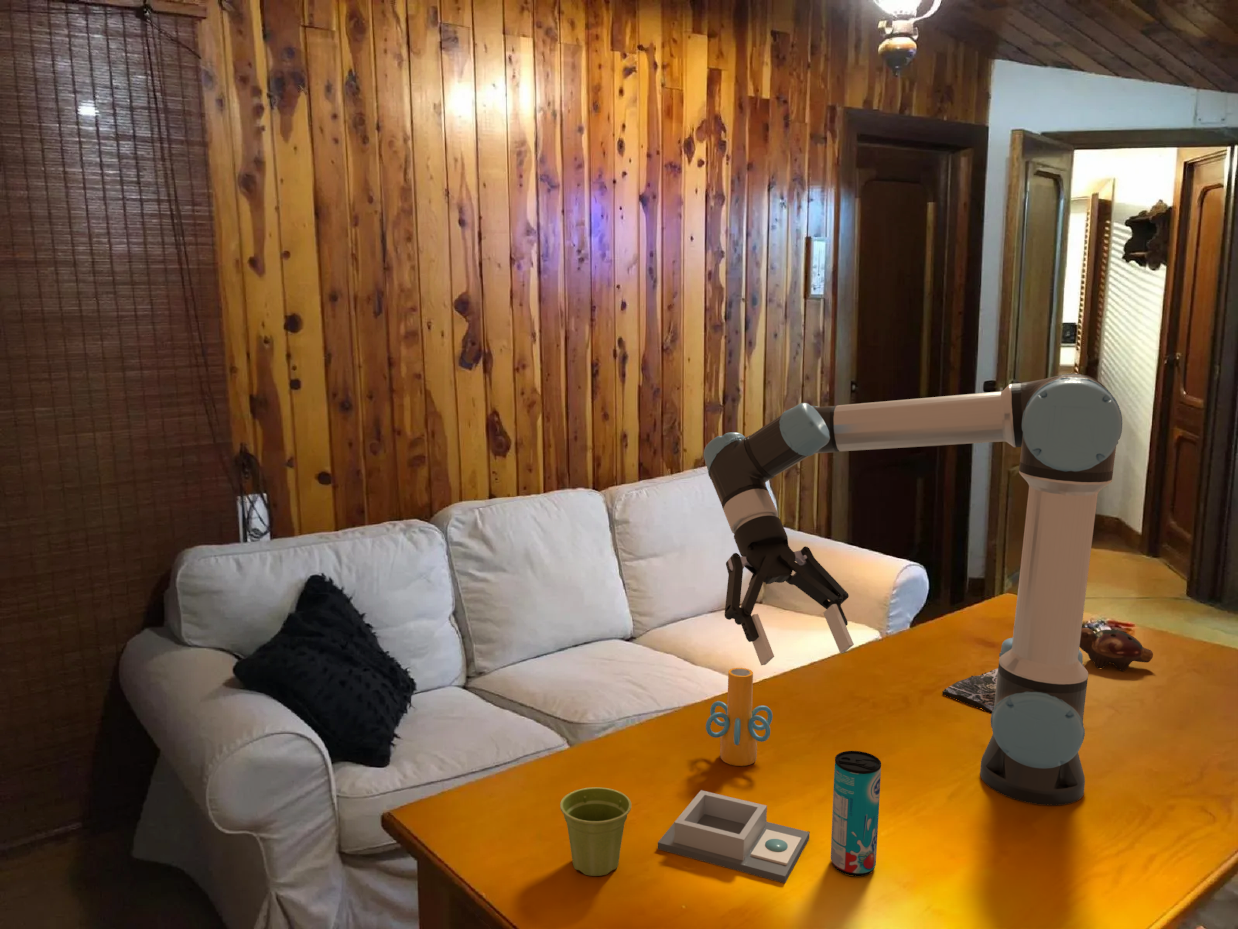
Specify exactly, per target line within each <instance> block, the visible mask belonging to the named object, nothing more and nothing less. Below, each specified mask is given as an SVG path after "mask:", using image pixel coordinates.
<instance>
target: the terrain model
mask: <svg viewBox="0 0 1238 929" xmlns="http://www.w3.org/2000/svg"><path fill="white" fill-rule="evenodd" d="M997 674H998V668H995V669H993V670H990V671H989V672H984V673H983V672H982V673H981V674H980V675H971V676H969V677H967V678H963V679H961V680H959V681H957V682H954V683H953V684H951V685H950V686H948V687H947V688H944V690H942V693H941V694H942V695H941V696H944V695H946V696H945V697H947V696H948V698H950V697H951V699H952V698H955V699H957V700H956V701H958V700H959V701H958V702H960V701H961V702H962V703H963V702H965V703H964V704H966V703H968V704H969V705H968V704H967V705H968V706H971V705H973V706H972V707H974V706H975V707H974V708H976V707H978V708H977V709H979V708H982V709H983V711H984V710H985V712H987V713H989V712H991V713H990V714H992V712H993V710H994V703H995V693H996V684H997ZM955 699H954V700H955ZM982 709H981V710H982Z"/></svg>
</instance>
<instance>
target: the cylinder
mask: <svg viewBox="0 0 1238 929" xmlns="http://www.w3.org/2000/svg"><path fill="white" fill-rule="evenodd" d="M753 684H754V671H753V670H751V669H749V668H745V667H733V668H730V669H728V674H727V704H726V703H725V702H723V701H720V700H717V701H714V702H713V703H712V704H711V706H710V708H709V709H710V711H709V712H710V716H709V717H708V718H707V720H706V723H705V731H706V733H707V734H708V735H709V737H712V738H717V739H718V738H720V742H719V743H720V744H719V745H720V746H719V747H720V751H719V757H720V759H721V761H722V762H724V763H725V764H728V765H730V766H736V767H745V766H746V767H747V766H750V765H753V764H754V763H755V762H756V760H757V756H758V755H757V754H758V742H761V743H764V742H766V741H767V740H769V738H770V736H771V726H770V725H771V724H772V721H773V711H772V710H771V708H769V707H768V706H767V705H758V706H756V707H755V708H753V688H754V687H753V686H754V685H753ZM717 707H721V708H722V709H723V710H724V712H725V713H724V712H720V711H719V712H716V708H717ZM761 711H763V712H764V711H765V712H766V713H767V719H766V718H765V717H763V716H762V715H757V714H758V713H759V712H761ZM719 718H722V719H723V721H721V720H720V719H719ZM756 721H758V722H760V723H762V724H761V725H757V724H756ZM712 722H714V723H715V725H717V726H719V727H722V730H720V731H718V732H714V731H712V727H711V726H712ZM755 730H756V731H763V730H764V731H765V733H764V735H763V736H759V735H758V734H757V732H756V731H755Z"/></svg>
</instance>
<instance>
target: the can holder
mask: <svg viewBox="0 0 1238 929" xmlns="http://www.w3.org/2000/svg"><path fill="white" fill-rule="evenodd" d="M767 813H768V805H766V804H761V803H756V802H753V801H749V800H743V799H740V798H735V797H730V796H727V795H724V794H718V793H714V792H711V791H706V790H703V789H700V791H699V792H698V793H697V794H696V795H695V797H694V798H692V800H691V802H690V803H689V804H688V805H687V806H686V807H685V809H684V810H683V811H682V813H681V814H680V815H679V816H678V817H677V818H676V819H675V820H674V821H673V823H672V825H671V826H670V827H669V828H668V829H667V831H666V832H665V833H664V834H663V835H662V836H661V838H660V839H659V840H658V842H657V850H659V851H663V852H668V853H671V854H673V855H679V856H682V857H686V858H690V859H692V860H697V861H701V862H704V863H708V864H711V865H716V866H719V867H723V868H725V869H726V868H727V869H731V870H734V871H736V872H737V871H739V872H740V873H741V872H742V873H745V874H748V875H752V876H757V877H759V878H760V877H761V878H764V879H767V880H770V881H776V882H778V883H783V884H786V883H787V880H788V878H789V876H790V875H791V873H792V871H793V869H794V867H795V865H796V864H797V862H798V860H799V858H800V856H801V855H802V853H803V852H804V849H805V847H806V846H807V844H808V842H809V840H810V832H809V831H806V830H802V829H798V828H794V827H789V826H785V825H782V824H777V823H773V822H770V821H767Z"/></svg>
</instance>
